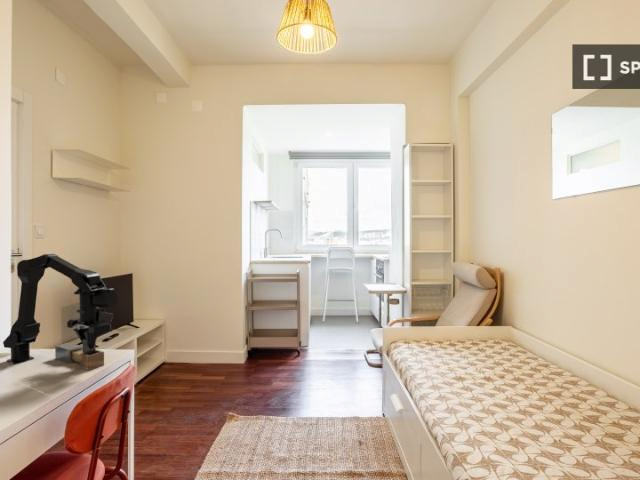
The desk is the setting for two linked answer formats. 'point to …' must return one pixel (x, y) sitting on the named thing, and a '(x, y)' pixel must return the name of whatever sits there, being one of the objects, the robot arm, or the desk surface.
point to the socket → (92, 360)
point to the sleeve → (66, 351)
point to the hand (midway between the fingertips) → (89, 347)
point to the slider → (82, 351)
